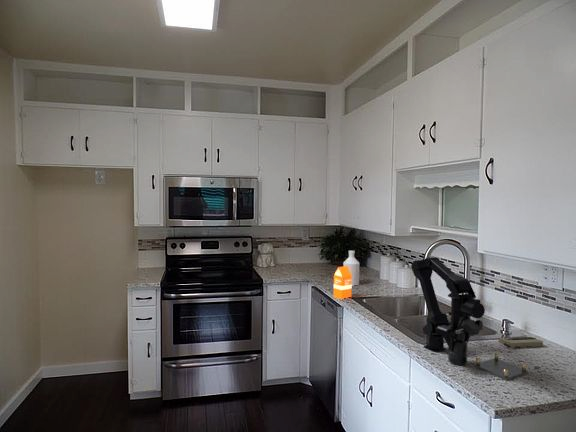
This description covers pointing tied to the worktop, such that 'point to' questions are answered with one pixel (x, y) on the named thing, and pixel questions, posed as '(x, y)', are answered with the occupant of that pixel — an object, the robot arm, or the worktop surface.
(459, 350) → the supplement bottle
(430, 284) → the robot arm
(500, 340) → the olive rectangular tray
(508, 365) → the chassis plate
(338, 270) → the orange juice
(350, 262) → the bottle
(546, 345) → the worktop surface
